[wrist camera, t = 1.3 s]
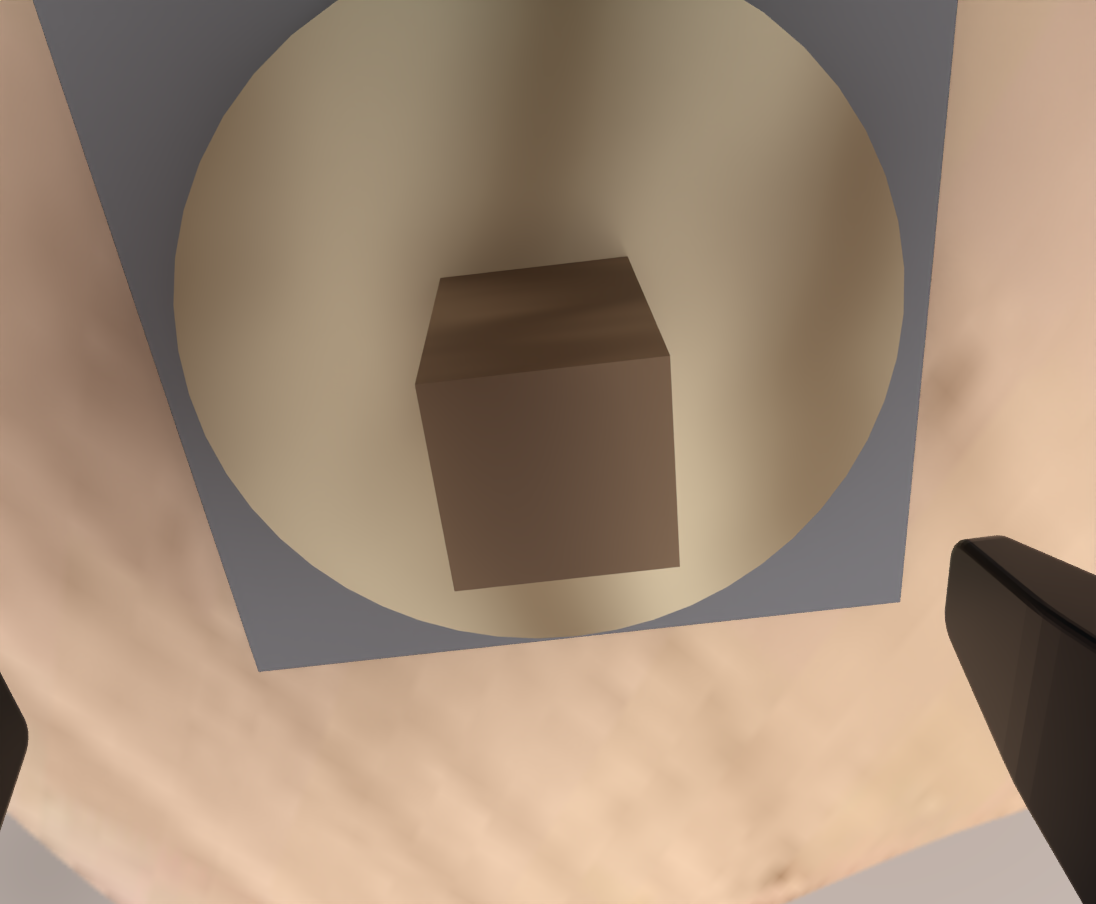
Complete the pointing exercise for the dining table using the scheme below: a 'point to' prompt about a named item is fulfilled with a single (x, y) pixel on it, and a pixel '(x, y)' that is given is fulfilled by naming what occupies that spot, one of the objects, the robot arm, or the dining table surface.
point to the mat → (153, 231)
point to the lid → (538, 302)
